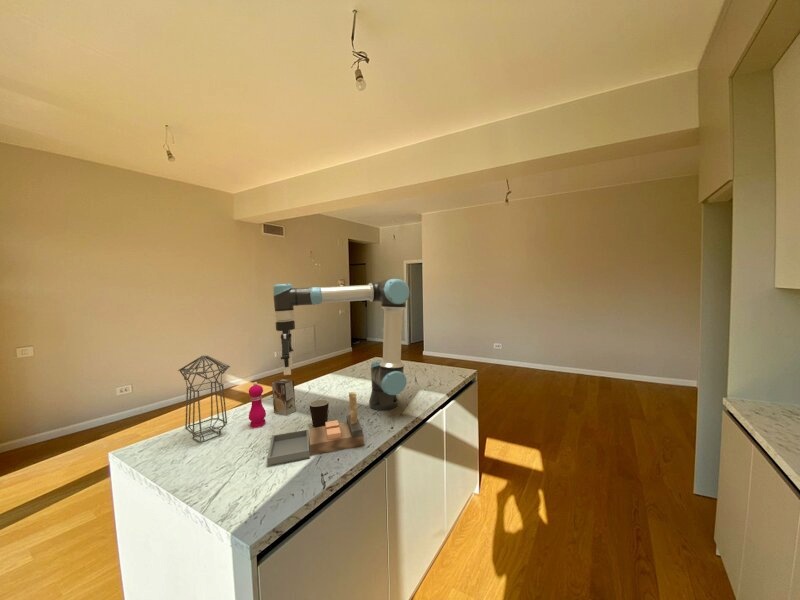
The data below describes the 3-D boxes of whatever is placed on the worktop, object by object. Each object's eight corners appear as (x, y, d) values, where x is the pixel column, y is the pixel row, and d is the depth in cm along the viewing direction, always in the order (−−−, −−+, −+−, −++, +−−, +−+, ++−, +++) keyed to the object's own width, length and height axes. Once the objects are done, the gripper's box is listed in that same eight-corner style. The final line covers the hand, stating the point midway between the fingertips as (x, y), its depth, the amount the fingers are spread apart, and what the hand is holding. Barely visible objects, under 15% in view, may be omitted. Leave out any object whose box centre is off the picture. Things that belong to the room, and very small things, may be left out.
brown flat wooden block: (357, 429, 131) (357, 420, 131) (364, 444, 118) (363, 434, 118) (309, 438, 125) (309, 428, 125) (310, 455, 112) (309, 444, 112)
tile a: (337, 424, 128) (337, 420, 128) (339, 429, 123) (338, 425, 123) (325, 426, 126) (325, 422, 126) (326, 432, 122) (326, 427, 122)
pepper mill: (269, 422, 143) (267, 380, 142) (258, 429, 136) (255, 384, 135) (257, 420, 145) (255, 379, 145) (245, 427, 138) (242, 383, 138)
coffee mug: (324, 429, 133) (323, 406, 133) (306, 428, 135) (305, 406, 134) (335, 418, 144) (334, 397, 144) (318, 417, 146) (317, 396, 146)
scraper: (355, 419, 132) (354, 386, 132) (362, 436, 117) (360, 398, 116) (346, 421, 131) (345, 387, 130) (352, 438, 116) (350, 400, 115)
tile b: (339, 432, 121) (339, 427, 121) (341, 437, 116) (340, 432, 116) (326, 434, 120) (326, 429, 120) (327, 440, 115) (327, 435, 115)
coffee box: (296, 410, 156) (294, 379, 155) (287, 415, 150) (285, 383, 149) (282, 408, 159) (280, 378, 159) (273, 413, 153) (271, 382, 153)
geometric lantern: (179, 439, 130) (175, 357, 130) (219, 426, 142) (216, 351, 142) (193, 449, 120) (189, 360, 120) (235, 434, 133) (231, 353, 133)
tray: (308, 436, 127) (308, 429, 127) (309, 458, 110) (309, 450, 110) (272, 442, 123) (272, 435, 123) (267, 466, 106) (267, 458, 106)
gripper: (278, 318, 139) (281, 364, 140) (272, 324, 115) (276, 379, 116) (295, 317, 141) (298, 362, 142) (292, 322, 118) (296, 377, 118)
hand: (288, 370), depth 129 cm, fingers open, 13 cm apart
